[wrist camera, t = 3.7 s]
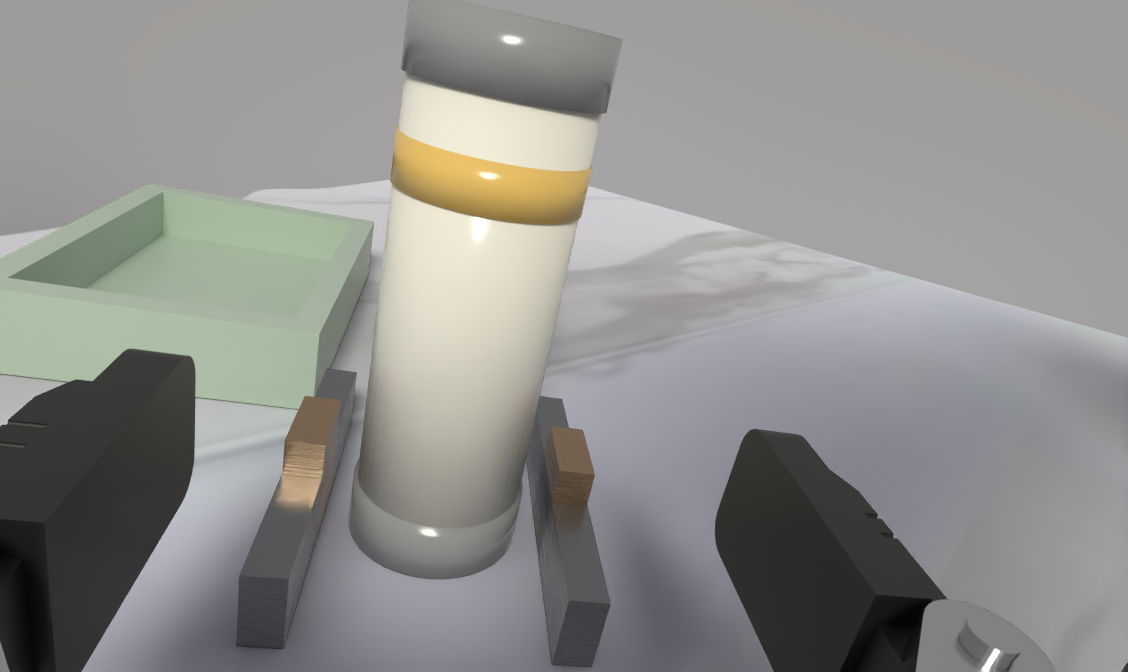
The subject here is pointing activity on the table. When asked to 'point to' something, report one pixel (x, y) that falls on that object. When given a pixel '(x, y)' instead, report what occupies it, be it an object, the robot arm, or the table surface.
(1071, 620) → the table surface
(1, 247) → the table surface
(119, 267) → the tray
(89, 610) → the robot arm
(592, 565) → the clip rails
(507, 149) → the cylinder
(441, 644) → the table surface
